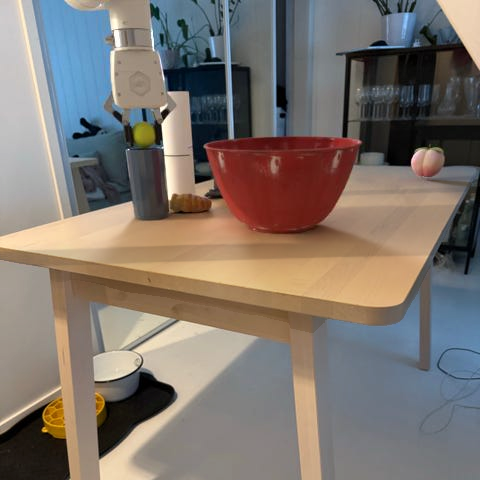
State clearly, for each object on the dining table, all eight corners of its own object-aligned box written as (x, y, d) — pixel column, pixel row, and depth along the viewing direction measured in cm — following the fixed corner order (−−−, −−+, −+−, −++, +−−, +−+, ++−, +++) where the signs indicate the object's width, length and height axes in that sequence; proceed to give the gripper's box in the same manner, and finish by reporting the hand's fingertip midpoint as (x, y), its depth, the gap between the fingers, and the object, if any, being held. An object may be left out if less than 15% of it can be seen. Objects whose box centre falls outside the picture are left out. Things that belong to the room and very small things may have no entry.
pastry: (213, 207, 109) (212, 190, 107) (210, 213, 102) (209, 195, 101) (174, 207, 109) (173, 191, 108) (168, 213, 103) (167, 196, 101)
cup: (137, 221, 96) (128, 151, 91) (132, 214, 103) (124, 148, 97) (172, 218, 99) (166, 148, 93) (166, 211, 105) (159, 146, 99)
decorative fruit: (446, 178, 138) (452, 143, 134) (436, 182, 133) (441, 145, 128) (416, 176, 144) (420, 142, 140) (405, 179, 138) (409, 144, 134)
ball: (134, 149, 92) (131, 122, 90) (131, 147, 96) (128, 121, 94) (159, 148, 94) (156, 121, 91) (154, 146, 98) (152, 120, 96)
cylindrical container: (200, 196, 122) (194, 91, 111) (186, 201, 116) (178, 91, 106) (177, 195, 125) (169, 92, 114) (163, 200, 119) (152, 92, 108)
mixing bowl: (373, 241, 77) (383, 143, 71) (204, 247, 77) (198, 149, 71) (338, 208, 103) (342, 134, 96) (211, 212, 103) (207, 138, 96)
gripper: (87, 40, 81) (103, 149, 89) (181, 41, 86) (189, 144, 94) (86, 45, 88) (101, 146, 96) (173, 46, 93) (181, 142, 100)
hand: (144, 144), depth 95 cm, fingers closed on ball, 4 cm apart
